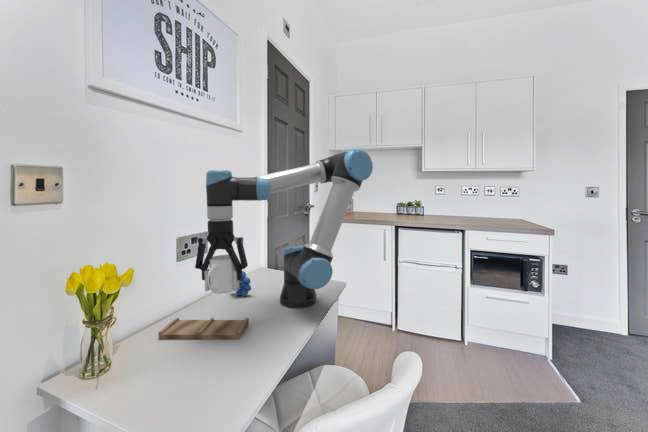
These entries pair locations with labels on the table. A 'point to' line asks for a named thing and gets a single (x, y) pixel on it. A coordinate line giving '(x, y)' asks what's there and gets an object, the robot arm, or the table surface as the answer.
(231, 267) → the mug
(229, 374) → the table surface
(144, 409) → the table surface
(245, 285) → the grapes
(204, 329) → the ledge board
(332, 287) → the table surface
